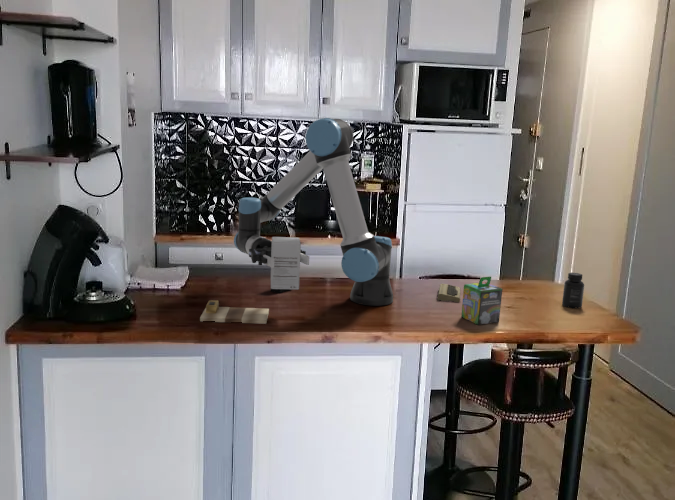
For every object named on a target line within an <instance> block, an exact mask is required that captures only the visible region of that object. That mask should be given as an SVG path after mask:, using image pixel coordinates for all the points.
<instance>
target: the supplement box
mask: <svg viewBox="0 0 675 500" xmlns="http://www.w3.org/2000/svg"><path fill="white" fill-rule="evenodd" d="M271 241H272V246H271V258H273V259H275V260H274V268H271V267H270V290H271V289H292V290H300V275H301V273H300V271H301V270H300V269H301V262H300V252H301V250H302V249H301V248H302V245H301V239H300V237H288V236H287V237H286V236H272V237H271Z"/></svg>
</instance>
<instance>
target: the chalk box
mask: <svg viewBox="0 0 675 500" xmlns="http://www.w3.org/2000/svg"><path fill="white" fill-rule="evenodd" d="M491 280H492V276H481V277H480V278H479V281H478V282H472V283H471V282H470V283H465V284H463V293H462V306H461V318H462V317H463V318H462V319H465V320H467V321H469V322H471V323H474V324H476V325H477V326H479V325H480V326H481V325H487V324H496V323H500V315H501V307H502V296H503V288H502V287H499V286H496V285H494V284H491ZM485 281H486V282H485Z"/></svg>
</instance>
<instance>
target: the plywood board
mask: <svg viewBox="0 0 675 500" xmlns="http://www.w3.org/2000/svg"><path fill="white" fill-rule="evenodd" d="M219 305H220V303H219V300H215V299H213V300H212V299H210V300H208V302H207V304H206V305H205V308H204V310H203V311H202V314H201V315H200V317H199V321H200V322H203V321H215V322H214V323H231V322H242V323H241V324H260V325H261V324H263V325H264V324H265V325H267V321H268V318H269V317H268V316H269V314H270V313H269V312H270V308H263V307H262V308H259V307H256V308H255V307H232V306H231V307H229V306H219Z"/></svg>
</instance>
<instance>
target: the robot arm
mask: <svg viewBox="0 0 675 500" xmlns="http://www.w3.org/2000/svg"><path fill="white" fill-rule="evenodd" d="M353 141H354V131H353V128H352V127H351V125H350V124H349V123H348V122H346V121H345V120H343V119H339V118H331V117H325V118H319V119H316V120H315V121H313V122H312V123H311V124H310V125H309V126H308V128H307V130H306V132H305V143H306V144H305V145H306V147H307V149H308V150H309V151H308V152H307V153H306V154H305V155H304V156H303V157H302V158H301V159H300V160H299V161H298V162H297V163H296V164H295V165H294V166H293V167H292V169H290V170H289V171H288V172H287V173H286V174H285V175H284V176H282V178H281V179H280V180H279V181H278V182H277V183H276V184H275V185H274V186H273V187H272V188H270V190H269V191H268V192H267V193H266V194H265V195H264V196H263V197H262V198H261V199H260V198H259V197H258V198H257V197H249V196H248V197H242V198H240V199H239V202H238V208H237V209H238V231H237V232H236V233H235V236H234V237H233V244H234V246H235V248H236V249H238V251H240V252H241V253H244V254H246V255H248V257H249V258H250V259H251V262H252V264H256V263H258V264H257V265H258V266H262V265H263V264H264V265H266V267H267V266H268V267H270V269H271V268H274V260H275V259H273V258H271V246H272V239H271V240H270V239H269V238H266V237H263V236H261V223H263V222H264V223H265V222H267V221H272V220H273V219H275V218H277V217H278V216H279V213H280V211H281V210H282V209H283V208H284V207H285V206H286V205H287V204H288V203H289V202H290V201H291V200H292V199H294V197H296V195H297V194H299V192H301V190H302V189H303V188H305V187H306V186H307V185H308V184H309V182H311V181H312V179H314V178H315V177H316V176H317V175H318V174H319V173H320V172H321V171H323V174H324V176H325V180H326V184H327V186H328V191H329V194H330V198H331V201H332V205H333V208H334V212H335V214H336V217H337V218H336V219H337V221H338V225H339V229H340V232H341V236H342V241H341V242H340V244H339V245H340V248H341V249H340V250H341V252H342V258H341V269H342V272H343V273H344V275H345V276H346V277H347V278H348V279H350V280H352V281H353V286H352V288H351V291H350V295H349V298H350V299H349V300H350V301H351V302H353V303H355V304H359V305H365V306H373V307H374V306H375V307H376V306H378V307H379V306H387V305H390V304H392V303H393V302H394V294H393V288H392V286H391V280H390V274H391V259H392V248H393V246H392V245H393V243H392V242H393V241H392V239H391V238H390V237H387V236H381V235H380V236H379V235H374V234H373V233H371V232H369V229H368V226H367V223H366V220H365V219H366V218H365V216H364V210H363V208H362V204H361V201H360V197H359V194H358V191H357V187H356V183H355V181H354V179H355V178H354V177H353V173H352V169H351V166H350V162H349V160H350V159H351V157H352V153H351V146H352V144H353ZM306 253H307V252H306V251H305V250H302V249H301V252H300V264H304V265H307V266H309V265H310V255H307V254H306Z"/></svg>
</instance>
